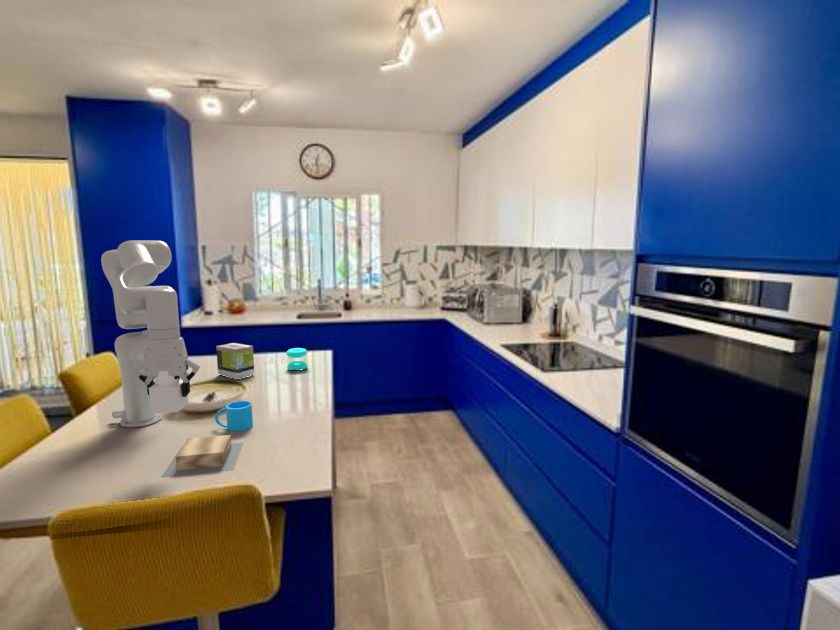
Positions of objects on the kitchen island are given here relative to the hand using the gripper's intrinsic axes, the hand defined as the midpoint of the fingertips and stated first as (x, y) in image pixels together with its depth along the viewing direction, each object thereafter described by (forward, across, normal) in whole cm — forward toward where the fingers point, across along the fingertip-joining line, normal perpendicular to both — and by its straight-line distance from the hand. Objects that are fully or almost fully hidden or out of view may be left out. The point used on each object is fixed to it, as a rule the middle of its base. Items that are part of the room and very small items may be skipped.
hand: (169, 396), depth 125 cm
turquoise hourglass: (+20, +27, +97) cm, 103 cm away
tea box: (+20, -1, +91) cm, 93 cm away
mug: (+20, +11, +24) cm, 33 cm away
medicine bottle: (+4, 0, 0) cm, 4 cm away
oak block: (+19, +8, +1) cm, 21 cm away
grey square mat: (+20, +8, +1) cm, 22 cm away
